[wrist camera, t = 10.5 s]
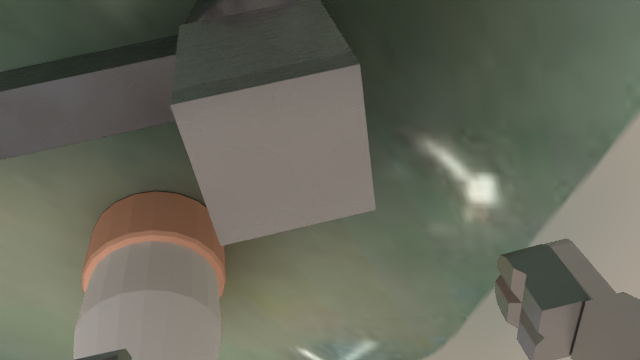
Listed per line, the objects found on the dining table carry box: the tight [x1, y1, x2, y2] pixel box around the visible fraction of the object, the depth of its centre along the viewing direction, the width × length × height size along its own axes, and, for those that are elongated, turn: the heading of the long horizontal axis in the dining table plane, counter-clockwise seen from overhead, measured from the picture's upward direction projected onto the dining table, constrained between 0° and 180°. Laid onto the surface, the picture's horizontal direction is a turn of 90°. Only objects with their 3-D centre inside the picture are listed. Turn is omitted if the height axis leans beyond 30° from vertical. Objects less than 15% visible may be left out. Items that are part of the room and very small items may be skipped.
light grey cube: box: [170, 0, 376, 246], centre depth 19 cm, size 6×6×7 cm
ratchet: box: [0, 0, 300, 160], centre depth 22 cm, size 7×26×6 cm, turn 99°
